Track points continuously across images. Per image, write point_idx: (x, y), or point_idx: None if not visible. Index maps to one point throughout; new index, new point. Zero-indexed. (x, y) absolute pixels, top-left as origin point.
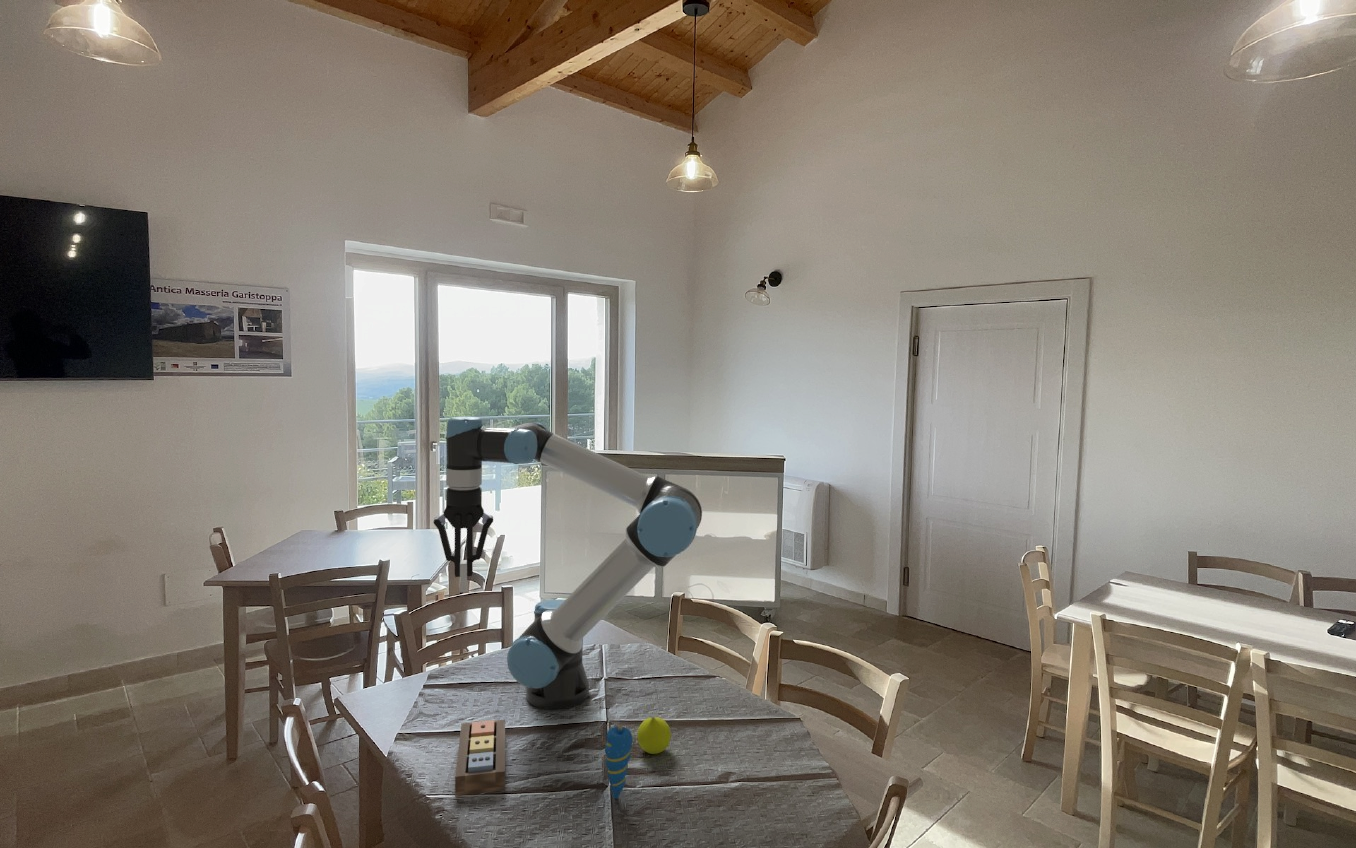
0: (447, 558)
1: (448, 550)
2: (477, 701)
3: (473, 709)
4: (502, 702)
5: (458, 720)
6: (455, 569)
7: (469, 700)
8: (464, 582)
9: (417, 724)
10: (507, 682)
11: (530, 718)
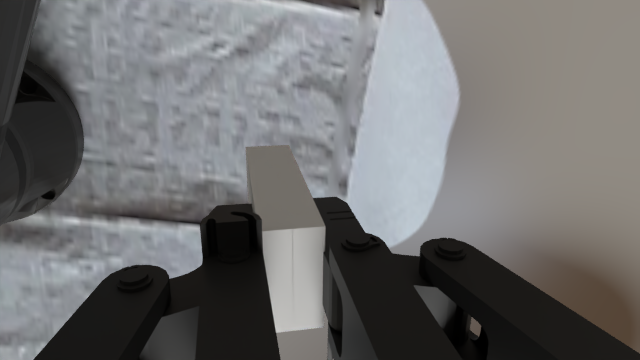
0: (463, 247)
1: (500, 303)
2: (210, 131)
3: (217, 93)
4: (145, 116)
5: (249, 45)
6: (351, 223)
7: (230, 139)
8: (265, 168)
9: (342, 45)
10: (142, 216)
11: (57, 16)
